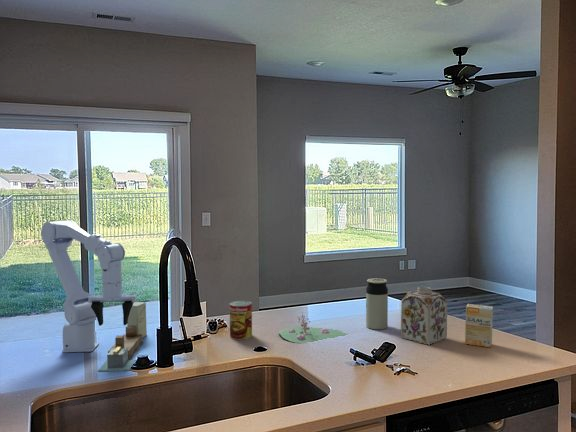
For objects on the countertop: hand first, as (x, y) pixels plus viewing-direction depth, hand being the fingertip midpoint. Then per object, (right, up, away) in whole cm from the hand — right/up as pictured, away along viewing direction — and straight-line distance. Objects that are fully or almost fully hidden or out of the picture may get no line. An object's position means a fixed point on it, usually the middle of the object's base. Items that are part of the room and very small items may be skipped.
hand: (113, 324), depth 157 cm
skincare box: (+2, -9, +19) cm, 21 cm away
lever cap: (+4, -10, -9) cm, 14 cm away
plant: (+65, -9, +21) cm, 69 cm away
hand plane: (+3, -10, +4) cm, 11 cm away
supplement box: (+120, -9, +9) cm, 120 cm away
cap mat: (+5, -10, -9) cm, 15 cm away
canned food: (+39, -9, +20) cm, 44 cm away
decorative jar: (+103, -9, +16) cm, 105 cm away
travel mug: (+89, -8, +30) cm, 94 cm away
